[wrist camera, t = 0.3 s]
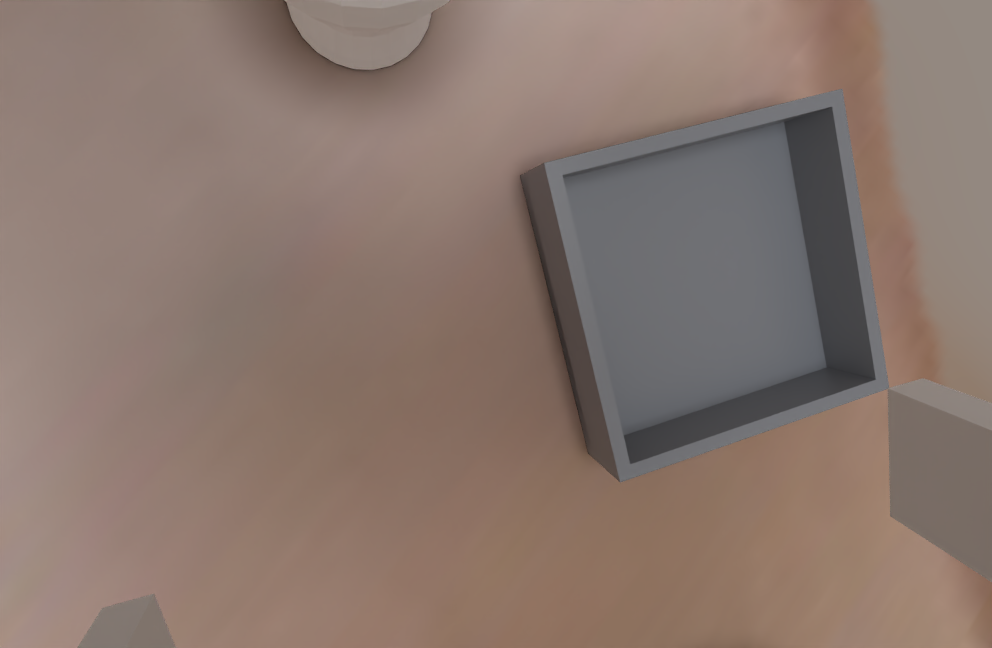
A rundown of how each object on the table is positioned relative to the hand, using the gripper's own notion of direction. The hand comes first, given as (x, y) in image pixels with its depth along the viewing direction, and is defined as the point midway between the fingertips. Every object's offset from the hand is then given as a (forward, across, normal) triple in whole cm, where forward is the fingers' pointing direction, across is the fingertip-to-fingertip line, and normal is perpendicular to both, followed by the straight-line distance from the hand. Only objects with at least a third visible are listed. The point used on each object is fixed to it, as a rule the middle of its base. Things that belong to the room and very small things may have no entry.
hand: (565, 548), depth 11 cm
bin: (+26, +16, -3) cm, 31 cm away
